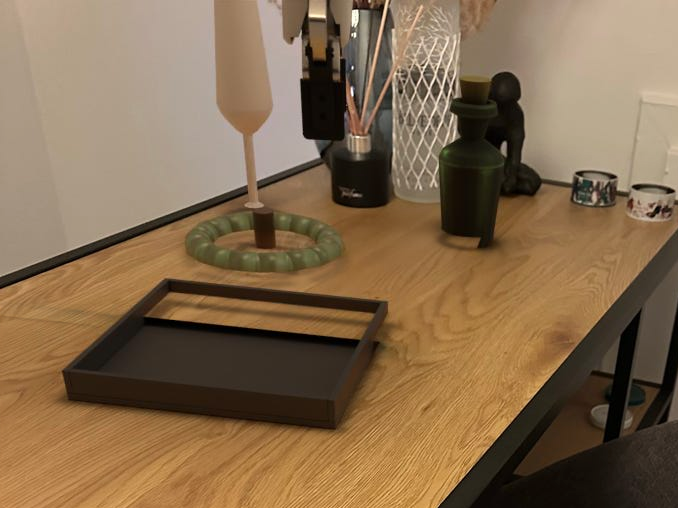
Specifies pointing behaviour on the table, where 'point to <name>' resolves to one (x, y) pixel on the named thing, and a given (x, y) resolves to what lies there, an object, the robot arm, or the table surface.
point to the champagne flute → (242, 76)
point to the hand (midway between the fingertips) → (326, 125)
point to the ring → (313, 256)
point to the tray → (226, 361)
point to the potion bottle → (471, 166)
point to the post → (264, 228)
